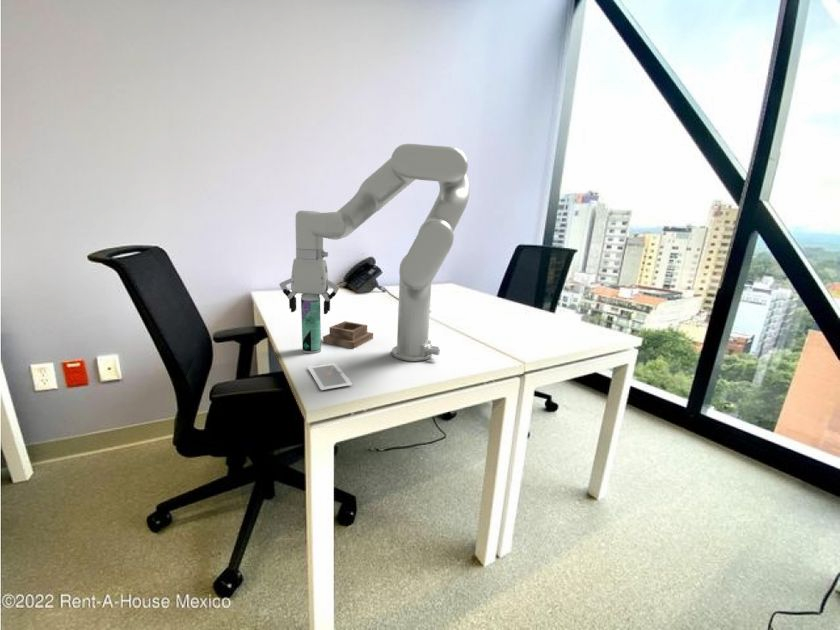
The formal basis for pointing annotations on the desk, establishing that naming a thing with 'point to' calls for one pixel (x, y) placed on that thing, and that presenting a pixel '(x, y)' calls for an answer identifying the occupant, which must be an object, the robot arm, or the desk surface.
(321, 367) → the touchpad
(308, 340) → the spray can
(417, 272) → the robot arm
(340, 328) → the display stand
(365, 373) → the desk surface
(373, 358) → the desk surface
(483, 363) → the desk surface
